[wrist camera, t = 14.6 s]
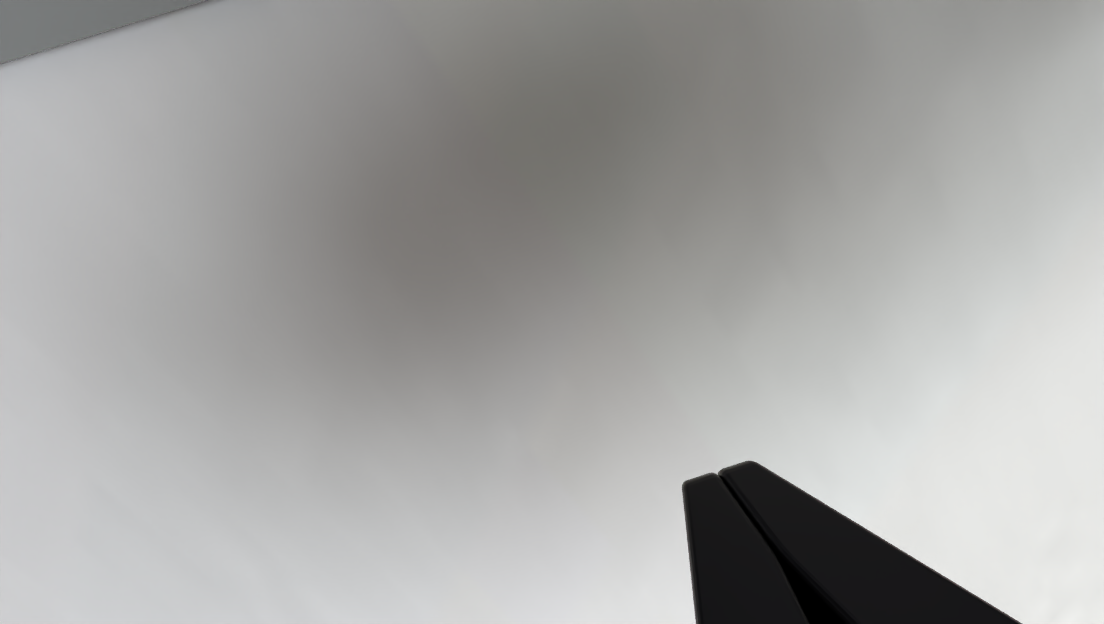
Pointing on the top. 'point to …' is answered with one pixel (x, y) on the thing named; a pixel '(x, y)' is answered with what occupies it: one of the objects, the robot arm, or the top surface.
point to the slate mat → (69, 21)
